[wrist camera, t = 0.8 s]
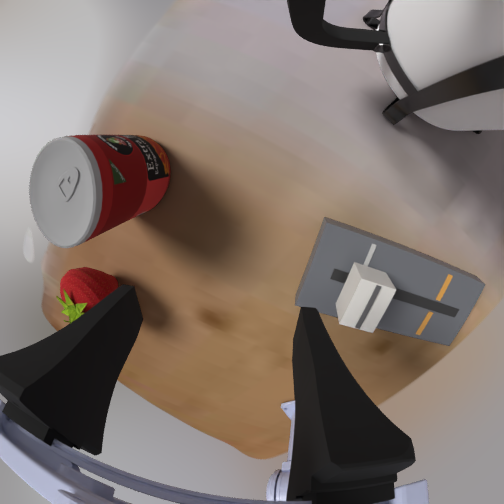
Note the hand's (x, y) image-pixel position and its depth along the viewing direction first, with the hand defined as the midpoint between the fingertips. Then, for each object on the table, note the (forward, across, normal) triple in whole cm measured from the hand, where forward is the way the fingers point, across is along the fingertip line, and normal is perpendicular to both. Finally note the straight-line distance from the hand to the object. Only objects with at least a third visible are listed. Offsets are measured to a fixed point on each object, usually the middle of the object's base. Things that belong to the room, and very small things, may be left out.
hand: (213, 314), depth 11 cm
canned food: (+16, +11, -1) cm, 19 cm away
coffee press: (+16, -14, -14) cm, 25 cm away
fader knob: (+10, -10, +5) cm, 15 cm away
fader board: (+12, -15, +7) cm, 20 cm away
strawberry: (+14, +15, +11) cm, 23 cm away
